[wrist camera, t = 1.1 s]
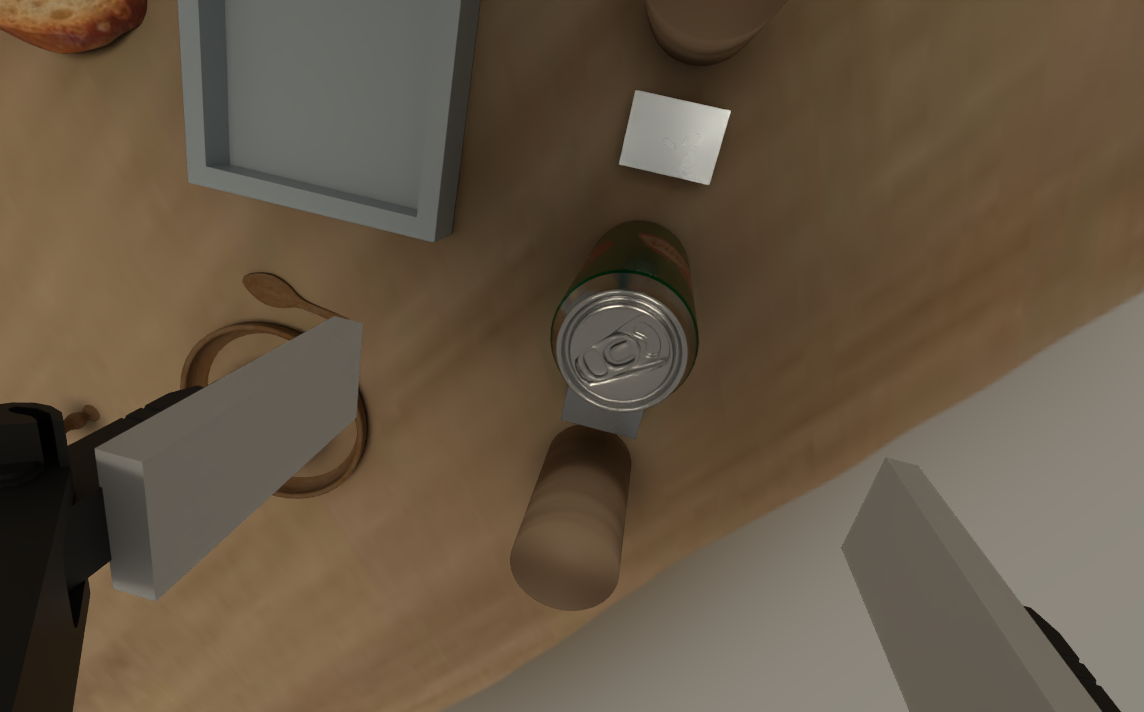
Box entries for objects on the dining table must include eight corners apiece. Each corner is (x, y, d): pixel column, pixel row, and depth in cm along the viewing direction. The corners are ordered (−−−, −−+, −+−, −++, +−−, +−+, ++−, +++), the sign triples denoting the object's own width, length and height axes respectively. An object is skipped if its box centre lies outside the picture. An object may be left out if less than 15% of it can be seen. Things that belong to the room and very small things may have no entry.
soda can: (705, 290, 30) (726, 388, 19) (617, 331, 31) (589, 444, 20) (662, 200, 28) (657, 249, 17) (572, 247, 30) (516, 320, 19)
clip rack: (694, -149, 23) (698, -185, 20) (793, -130, 23) (810, -164, 20) (541, 519, 37) (530, 551, 34) (602, 535, 36) (597, 569, 34)
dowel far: (556, 415, 34) (519, 509, 25) (640, 437, 33) (630, 540, 25) (540, 484, 36) (502, 593, 27) (620, 505, 35) (604, 622, 27)
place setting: (340, 541, 41) (290, 605, 35) (78, 423, 40) (-13, 470, 35) (408, 330, 34) (359, 370, 28) (92, 185, 33) (-19, 198, 28)
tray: (213, -113, 26) (169, -136, 24) (487, -56, 26) (469, -74, 23) (223, 178, 31) (188, 182, 29) (451, 233, 31) (434, 242, 28)
